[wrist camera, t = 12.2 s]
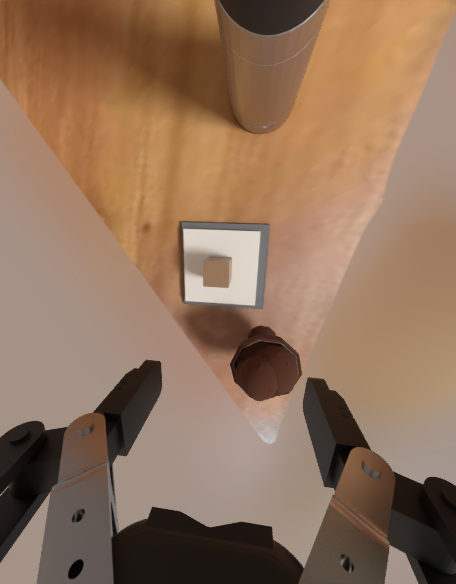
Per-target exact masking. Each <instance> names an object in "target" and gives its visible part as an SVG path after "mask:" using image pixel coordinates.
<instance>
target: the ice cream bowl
mask: <svg viewBox="0 0 456 584" xmlns="http://www.w3.org/2000/svg"><path fill="white" fill-rule="evenodd" d="M230 366H231V370H232V374H233V378H234V381H235V383H236V384H238V385H239V386H240V387H241V388H242V389H243V390H244V391H245V393H246V394H247V395H248V396H249V397H251V398H253V399H254V400H257V401H263V400H266V399H269V398H273V397H275V396H280V395H284V394H288V393H290V392H291V391H292V389H293V387H294V385H295V384H296V382H297V381H298V379H299V378H300V376H301V375H302V371H301V365H300V358H299V354H298V353H297V352H296V351H295V350H294V349H293V348H292V347H291V346H290V345H289V344H287V343H286V342H285V341H284V340H283V339H282V338H281V337H278V336H276V334H275V332H274V331H273V330H272V329H270V328H269V327H264V326H259V327H257V328H255V329H253V330H252V331H251V333H250V335H249V339H247V340H245V341H243V342H242V343H241V344H240V345H239V347H238V349H237V351H236V353H235V355H234V357H233V359H232V361H231V363H230Z"/></svg>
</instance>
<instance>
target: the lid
mask: <svg viewBox="0 0 456 584" xmlns="http://www.w3.org/2000/svg"><path fill="white" fill-rule="evenodd" d="M260 233H261V231H236V230H207V229H183V238H184V271H185V301H193V302H208V303H223V304H238V305H252V306H255V300H256V286H257V273H258V260H259V246H260Z"/></svg>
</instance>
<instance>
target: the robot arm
mask: <svg viewBox="0 0 456 584" xmlns="http://www.w3.org/2000/svg"><path fill="white" fill-rule="evenodd" d="M214 1H215V7H216V13H217V19H218V25H219V31H220V37H221V43H222V49H223V55H224V62H225V68H226V74H227V80H228V86H229V93H230V99H231V105H232V110H233V113H234V116H235V117H236V119H237V121H238V122H239V124H240V125H241V126H242V127H243V128H245V129H246V130H248V131H250V132H252V133H257V134H264V133H268V132H271V131H274V130H275V129H277V128H278V127H280V126H281V125H282V124H283V123H284V122H285V121H286V119H287V118H288V116H289V115H290V113H291V111H292V108H293V106H294V103H295V100H296V97H297V94H298V92H299V89H300V86H301V83H302V80H303V78H304V75H305V72H306V69H307V66H308V63H309V60H310V57H311V55H312V52H313V49H314V46H315V43H316V40H317V37H318V34H319V32H320V29H321V26H322V23H323V20H324V17H325V14H326V11H327V9H328V6H329V2H330V0H214ZM161 389H162V374H161V362H160V361H153V360H146V361H144V363H143V364H142V365H141V366H140V367H139V369H137V368H134V369H133V370H132V371H130V372H128V373H127V374H125V376H124V377H123V378H122V379H121V380H120V382H119V383H118V384H117V385H116V386H115V388H114V389H113V390H112V391H111V392H110V393H109V394H108V396H107V397H106V398H105V399H104V400H103V401H102V403H101V404H100V405H99V406H98V407H97V409H96V410H95V411H94V412H93V413H89V414H86V415H83V416H81V417H79V418H77V419H76V420H74V421H73V422H72V423H71V424H70V425H69V426H68V427H64V428H58V429H52V430H46V431H45V427H44V425H43V423H42V422H39V421H31V422H26V423H23V424H21V425H18V426H16V427H14V428H13V429H11V430H9V431H8V432H6V433H5V434H4V435H3V436H2V437H0V494H1V493H2V492H3V491H4V490H5V489H6V488H7V486H9V487H8V488H7V489H6V490H5V492H4V493H3V494H2V495H1V496H0V562H1V561H2V560H3V558H4V557H5V555H6V554H7V553H8V551H9V550H10V548H11V547H12V545H13V544H14V543H15V541H16V540H17V538H18V537H19V536H20V534H21V533H22V531H23V530H24V528H25V527H26V526H27V524H28V523H29V521H30V520H31V518H32V517H33V516H34V514H35V513H36V511H37V510H38V509H39V507H40V506H41V504H42V503H43V501H44V500H45V499H46V497H47V496H48V494H49V493H50V492H51V493H50V499H49V507H48V512H47V519H46V525H45V532H44V539H43V545H42V552H41V558H40V565H39V572H38V578H37V584H385V576H386V569H387V562H388V555H389V545H391V546H393V547H395V548H397V549H399V550H400V551H403V552H404V553H406V555H407V558H408V560H409V562H410V564H411V567H412V569H413V572H414V574H415V576H416V579H417V581H418V583H419V584H456V486H455V485H453V484H452V483H450V482H448V481H446V480H443V479H441V478H437V477H429V478H427V479H426V480H425V482H424V484H421V483H418V482H416V481H413V480H411V479H409V478H407V477H404V476H402V475H400V474H397V473H395V472H393V471H392V469H391V467H390V466H389V465H388V463H387V462H386V461H385V460H384V459H383V458H382V457H381V456H379V455H378V454H376V453H375V452H373V451H371V449H370V447H369V445H368V443H367V441H366V440H365V438H364V436H363V434H362V432H361V430H360V429H359V427H358V425H357V423H356V421H355V419H354V418H353V416H352V414H351V412H350V410H349V408H348V406H347V404H346V403H345V401H344V399H343V398H342V397H341V396H340V395H339V394H338V393H337V392H336V391H333V390H329V388H328V386H327V384H326V382H325V380H324V379H319V378H310V377H309V378H308V379H307V383H306V389H305V394H304V399H303V412H304V416H305V419H306V423H307V427H308V430H309V434H310V437H311V441H312V444H313V448H314V452H315V455H316V459H317V462H318V466H319V469H320V473H321V476H322V480H323V483H324V486H325V487H330V488H334V490H335V493H334V495H333V496H332V498H331V501H330V503H329V506H328V508H327V511H326V514H325V516H324V518H323V521H322V524H321V526H320V529H319V532H318V534H317V537H316V539H315V542H314V544H313V547H312V550H311V552H310V555H309V558H308V560H307V563H306V565H305V568H303V566H302V565H301V563H299V561H298V560H297V559H296V558H295V557H294V555H292V554H291V553H290V552H289V551H288V550H287V549H286V548H285V547H283V546H282V545H281V544H279V543H278V542H276V541H274V540H273V535H272V527H270V526H264V525H258V524H252V523H246V522H238V523H232V524H227V525H221V526H216V527H207V526H205V525H203V524H201V523H200V522H198V521H196V520H194V519H193V518H191V517H189V516H187V515H186V514H184V513H182V512H180V511H174V510H168V509H162V508H156V507H152V509H151V512H150V514H149V517H148V519H144V520H141V521H138V522H136V523H133V524H131V525H129V526H128V527H126V528H124V529H123V530H121V531H120V532H119V526H118V519H117V508H116V496H115V484H114V472H113V462H114V460H115V459H116V457H117V455H121V456H127V455H128V453H129V451H130V449H131V447H132V445H133V443H134V442H135V440H136V438H137V436H138V434H139V432H140V431H141V429H142V427H143V425H144V423H145V421H146V420H147V418H148V416H149V414H150V412H151V410H152V409H153V407H154V405H155V403H156V401H157V399H158V397H159V395H160V393H161Z"/></svg>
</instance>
